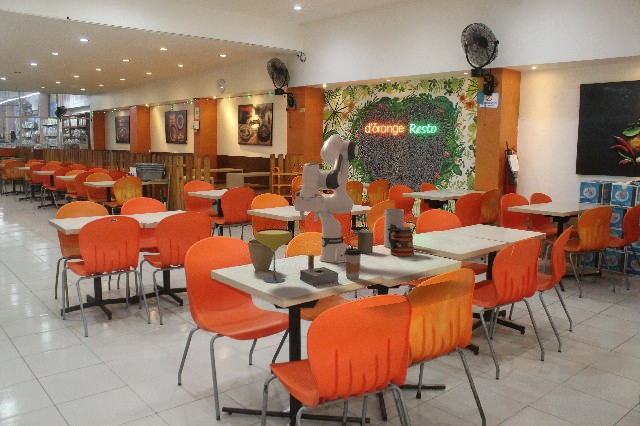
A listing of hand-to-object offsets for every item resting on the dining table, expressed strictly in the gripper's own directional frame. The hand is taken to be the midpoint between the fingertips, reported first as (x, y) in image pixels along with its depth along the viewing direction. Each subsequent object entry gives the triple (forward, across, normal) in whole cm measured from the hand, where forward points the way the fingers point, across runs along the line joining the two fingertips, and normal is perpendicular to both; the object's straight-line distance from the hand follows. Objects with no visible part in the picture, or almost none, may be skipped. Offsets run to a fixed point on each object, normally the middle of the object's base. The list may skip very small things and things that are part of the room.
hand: (308, 220), depth 275 cm
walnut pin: (+28, +4, -6) cm, 29 cm away
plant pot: (+29, +26, +9) cm, 40 cm away
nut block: (+30, -11, +1) cm, 32 cm away
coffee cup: (+29, -18, -16) cm, 37 cm away
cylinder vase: (+18, +23, -95) cm, 99 cm away
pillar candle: (+21, +23, -67) cm, 74 cm away
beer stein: (+21, +4, -79) cm, 81 cm away
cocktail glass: (+31, +5, +17) cm, 35 cm away
